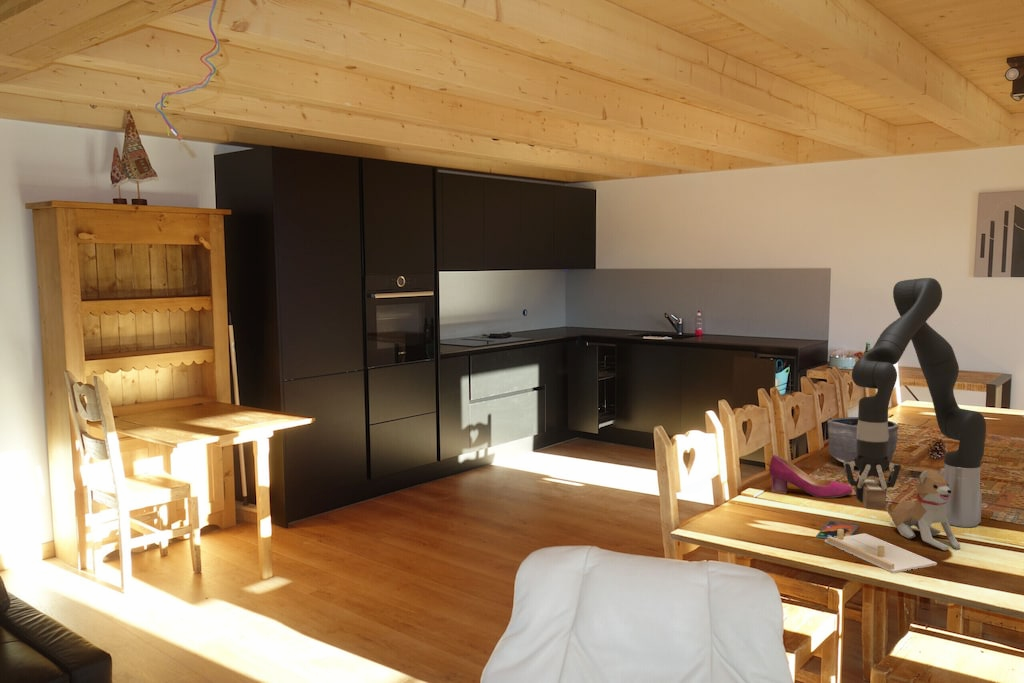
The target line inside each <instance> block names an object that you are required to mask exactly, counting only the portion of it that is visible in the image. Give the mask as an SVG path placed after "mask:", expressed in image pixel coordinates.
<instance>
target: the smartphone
mask: <svg viewBox="0 0 1024 683" xmlns="http://www.w3.org/2000/svg"><path fill="white" fill-rule="evenodd" d="M838 529H843V530H844V537H845V536H851V535H855V533H856V532H857V530H858V529H859V525H858V524H854V523H849V522H842V521H836V520H828V522H827V523H826V524H825V525H823V528H821V530H820V531H819V532H818V533H817V534H816V537H815V538H817V537H818V538H819V539H824V540H827V537H829V536H831V537H834V538H837V530H838ZM818 538H817V539H818Z"/></svg>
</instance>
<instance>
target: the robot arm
mask: <svg viewBox="0 0 1024 683" xmlns="http://www.w3.org/2000/svg"><path fill="white" fill-rule="evenodd" d="M892 295H893V296H892V297H893V301H894V305H895V307H896V310H897V312H898V314H899V316H900V317H898V318H897V319H895V320H894V321H893V322H892V323H890V324H889V325H888V326H887V327H885V329H884V330H883V331H882V332H881V333H880V334H879V337H878V339H877V340H876V342H875V343H874V345H873V347H872V348H870V349H869V350H868V351H866V353H865V354H863V355H862V356H861V357H859V359H858V360H857V361H856V362H855V364H854V365H853V368H852V370H851V379H852V382H853V383H854V384H855V385H856V386H857V387H861V388H866V389H867V388H868V389H876V390H877V391H876V393H875V395H874V396H873V395H872V396H864V397H862V398H860V399H859V401H858V425H857V444H856V458H855V459H854V461H852V462H844V463H843V462H842V463H843V468H844V471H845V476H846V479H847V482H848V484H849V486H850V487H852V486H853V487H855V499H856V500H857V501H858V502H859V503H862V502H863V488H862V486H863V483H864V481H865V480H866V479H867V477H868V478H869V477H874V478H875V477H876V478H877V482H878V483H879V484H880V485H881V486H882V487H883V488H884V490H885V491H886V492H887V489H889V488H894V487H895V486H896V482H897V479H898V476H899V473H900V471H901V465H899V464H898V463H897V462H894V463H893V462H890V461H889V460H888V438H889V430H888V421H889V406H890V405H889V404H890V401H891V397H892V394H893V391H894V388H895V386H896V382H897V379H898V372H897V368H896V367H895V365H896V364H897V363H898V362H899V361H900V359H901V358H902V357H903V354H904V352H905V351H906V349H907V347H908V345H909V344H910V342H912V345H913V348H914V351H915V354H916V357H917V360H918V363H919V365H920V368H921V372H922V374H923V376H924V379H925V381H926V385H927V388H928V390H929V394H930V396H931V400H932V404H933V405H932V406H933V408H934V409H933V410H934V413H935V414H934V415H935V418H936V422H937V426H938V428H939V431H940V433H941V434H942V436H944V437H946V438H947V439H949V440H954V441H958V442H959V443H958V449H956V450H951V451H947V452H946V453H944V456H943V462H944V463H943V468H944V470H945V476H944V479H945V480H946V482H947V484H948V485H949V486H948V487H949V489H950V490H951V494H950V499H949V500H948V501H947V502H946V517H947V520H948V523H949V525H950V526H956V527H959V528H960V527H963V528H973V527H977V526H978V525H979V524H981V523H982V521H981V519H982V500H983V499H982V498H983V497H982V496H983V492H982V490H980V488H981V487H980V485H981V465H982V464H981V463H982V460H983V457H984V453H985V446H986V445H985V444H986V434H987V422H986V418H985V416H984V415H983V414H982V413H980V412H978V411H975V410H971V409H965V408H964V409H963V408H960V407H959V405H958V403H957V400H956V398H955V394H954V392H955V391H954V388H955V385H956V383H957V380H958V377H959V372H960V368H959V362H958V361H957V357H956V355H955V354H956V353H955V352H954V348H953V347H952V345H951V344H950V343H949V342H948V340H947V339H946V338H944V337H943V336H942V335H941V334H940V333H938V332H937V331H936V330H934V328H933V327H931V325H929V323H928V322H927V321H928V320H929V319H930V317H931V316H932V315H933V314H934V313H935V312H936V310H937V309H938V308H939V306H940V305H941V302H942V300H943V288H942V286H941V284H940V282H939V281H938V280H937V279H935V278H934V277H923V278H912V279H905V280H904V279H903V280H900V281H898V282H896V283H895V284H894V286H893V291H892ZM855 465H856V467H854V466H855ZM855 468H857V470H858V473H857V478H856V480H855V478H854V475H853V471H854V469H855ZM888 468H889V471H890V473H889V475H888V477H887V481H886V479H885V475H884V473H885V471H886V470H887V469H888Z"/></svg>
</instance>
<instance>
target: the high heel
mask: <svg viewBox="0 0 1024 683" xmlns="http://www.w3.org/2000/svg"><path fill="white" fill-rule="evenodd" d="M768 469H769V471H768V473H769V475H770V478H771V490H770V491H771V492H773V493H777V494H778V493H779V494H780V493H781V494H788V493H787V492H788V489H789V488H788V484H791V485H794V486H795V487H797V488H798V489H801V490H802V491H804V492H806V493H807V494H809V495H811V496H813V497H816V498H820V499H821V498H822V499H828V498H839V497H844V496H848V495H850V494H852V493H853V487H852V486H851V485H847V484H844V483H841V482H837V481H834V480H832V479H827V480H824V479H818V478H815V477H813V476H811V475H809V474H808V473H806V472H805V471H803V469H800V468H799V467H798V466H796V465H794V464H793V463H791V462H790V461H788V460H787V459H785V458H783V457H781V456H779V455H778V454H773V455H772V456H771V459H770V462H769V468H768Z"/></svg>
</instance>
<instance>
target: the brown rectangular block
mask: <svg viewBox="0 0 1024 683" xmlns="http://www.w3.org/2000/svg"><path fill="white" fill-rule="evenodd" d="M862 488H863V502H861V503H862V504H861V505H863V506H864V507H865V509H867V510H886V507H887V505H886V504H887V503H886V502H887V490H886V491H885V490H884V488H883V487H882V486H881V485H880V484H879V481H878V480H876V479H872V478H871V479H869V478H866V480H865V481H864V483H863V486H862Z"/></svg>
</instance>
